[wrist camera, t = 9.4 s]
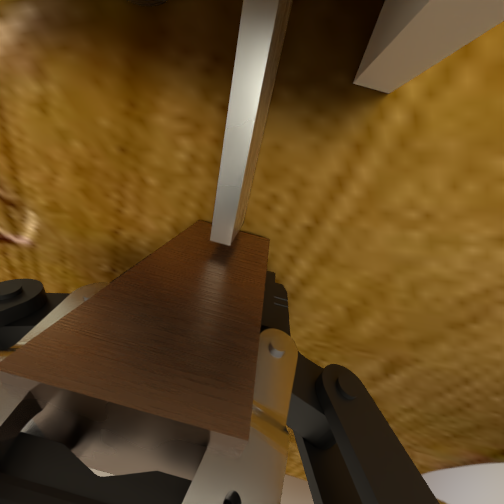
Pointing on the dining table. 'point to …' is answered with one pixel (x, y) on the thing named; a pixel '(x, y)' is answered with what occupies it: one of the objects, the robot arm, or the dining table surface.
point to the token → (147, 2)
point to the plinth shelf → (421, 37)
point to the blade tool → (170, 315)
